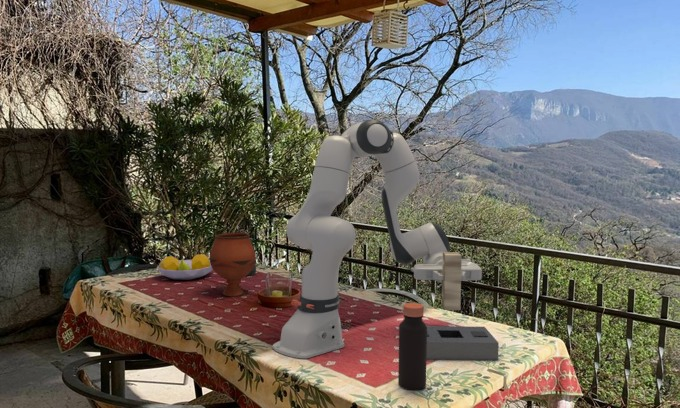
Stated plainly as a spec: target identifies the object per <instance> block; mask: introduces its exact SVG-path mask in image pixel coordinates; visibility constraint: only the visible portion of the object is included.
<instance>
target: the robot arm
mask: <svg viewBox="0 0 680 408" xmlns="http://www.w3.org/2000/svg"><path fill="white" fill-rule="evenodd" d="M371 156H372V157H374V158H375V159H376V161H378V163H379V164H380V167H381V170H382V172H383V176H384V180H385V181H384V183H385V184H384V188H383V190H381V202H382V208H383V213H384V217H385V223H386V227H387V232H388V237H389V244H390V245H389V246H390V253H391V255H392V257H393V259H394V260H395V262H396V263H398V264H400V265H406V266H408V265H410V264H412V263H413V262H415V261H417V260H420V259H422V263H417V264H414V266H413V267H410V271H411V272H413V278H414V279H415V280H418V281H436V282H438V283H439V284H440V283H441V284H442V281H444V274H442V260H443V252H450V241H449V239H448V237H447V234H446V233H445V231H444V229H443V228H442V226H440V225H439V224H437V223H435V222H432V221H430V222H428V223H425V224H422V225H421V226H417V227H416V228H414V229H412V230H409V231H407V232H406V231H405V232H403V233H402V231H401V227H400V221H399V218H398V206H399V205H400V204H401V202H402V201H403V200H404V199H405V198H406V197H407V196H408V195H409V194H411V192H412V191H413V190H414V189H415V188H416V187H417V185H418V183H419V181H420V169H419V167H418V164H417V161H416V158H415V156H414V154H413V152H412V149H411V147H410V146H409V145H408V143H407V141H406V139H405V138H404V136H403V135H401V133H397V132H392V130H390V128H389V127H388V125H386V124H385V123H384V122H383V121H381V120H379V119H373V118H371V119H366V120H363V121H358V122H355V123H354V124H352V125H351V126H349V127H346V129H344V130H343V132H341V134H340V135H335V134H334V135H330V136H327V137H325V138H324V140H323V141H322V143H321V145H320V148H319V150H318V154H317V157H316V160H315V164H314V167H313V168H314V170H313V173H312V178H311V183H310V188H309V190H308V193H307V196H306V198H305V200H304V202H303V204H302V205H301V207H300V209H299V210H298V211H297V213H296V214H295V215H294V216H293V215H292V217H291V218H290V219H289V220H288V221H287V224H286V236H287V239H288V240H289V241H290V242H291V244H294V245H295V246H297V247H299V248H302V249H305V250H306V249H307V250H311V251H312V252H311V258H310V261H309V263H308V264H307V265H305V266H304V268H303V269H302V271H301V294H300V296H299V299H295V298H294V299H292V300H291V306H293V307H296V308H297V310H296V311H295V312H294V313H293V314H292V316H290V318H289V319H288V321H287V322H285V324H284V325H283V326H282V327H281V334H280V340H279V341H277V342H274V343H273V344H272V349H273V350H274V351H275V352H277V353H279V354H281V355H284V356H287V357H289V358H290V357H291V358H294V359H295V358H297V359H310V358H313V357H316V356H317V357H318V356H319V355H323V354H325V353H329V352H333V351H336V350H338V349H342V348H345V342H344V340H343V335H342V334H343V332H342V323H341V317H340V314H339V310H338V309H339V308H340V302H339V296H340V295H338V292H339V289H338V286H339V269H340V267H341V263H342V260H343V258H344V257H345V255H346V254H347V253H348V252H349V251H351V249H352V248H353V246H354V244H355V242H356V229H355V227H354V225H353V223H351V222H350V221H348V220H345V219H343V218H341V217H338V216H334V215H333V216H331V215H332V214H333V213H334V212H333V211H334V210H335V209H336V208H337V206H338V205H340V204H341V203H342V202H344V200H345V198H346V196H347V191H348V184H349V179H350V175H351V170H352V169H351V168H352V164H353V162H354V160H355V159H361V158H369V157H371ZM482 273H483V270H482V267H480V265H478V264H476V263H475V262H472V260H471V259H470V258H466V257H462V259H461V282H465V281H481V280H482V277H483V274H482Z"/></svg>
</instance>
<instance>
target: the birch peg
mask: <svg viewBox="0 0 680 408" xmlns="http://www.w3.org/2000/svg"><path fill="white" fill-rule="evenodd" d="M462 258H463V257H462V254H461V253H460V252H456V251H455V252H454V251H453V252H452V251H451V252H450V251H449V252H443V260H442V274H444V281H442V283H441V307H442V309H443V310H444V311H461V301H462V300H461V298H462V297H461V294H462V281H461V259H462Z"/></svg>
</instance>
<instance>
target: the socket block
mask: <svg viewBox="0 0 680 408" xmlns="http://www.w3.org/2000/svg"><path fill="white" fill-rule="evenodd" d="M426 326H427V355H426V361H427V360H428V361H429V360H434V361H440V360H441V361H442V360H443V361H449V360H450V361H499V341H497V339H496V338H495V337H494V336H493V335H492V334H491V332H490V331H489V330H488V329H487V328H486V326H464V325H462V326H457V325H456V326H455V325H453V326H452V325H451V326H448V325H447V326H446V325H445V326H442V325H441V326H440V325H437V326H435V325H426Z"/></svg>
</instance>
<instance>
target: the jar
mask: <svg viewBox="0 0 680 408" xmlns="http://www.w3.org/2000/svg"><path fill="white" fill-rule="evenodd" d="M256 272H257V261H256V262H255V265H254V267H253V269H252V270H251V271H250V272H249V274H248V275H246V277H245V278H248V277H247V276H250V277H254V276H255V275H256ZM253 275H254V276H253Z"/></svg>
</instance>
